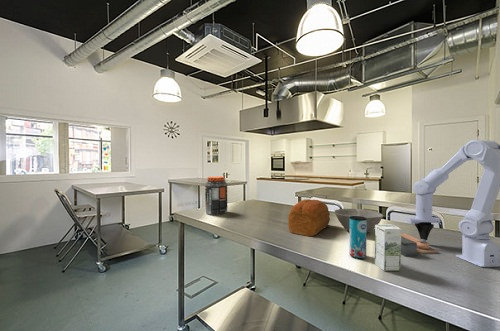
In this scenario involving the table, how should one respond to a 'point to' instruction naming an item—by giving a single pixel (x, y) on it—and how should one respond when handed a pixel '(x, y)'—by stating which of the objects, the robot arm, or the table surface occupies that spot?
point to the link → (417, 241)
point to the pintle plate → (426, 251)
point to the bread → (308, 217)
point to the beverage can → (358, 237)
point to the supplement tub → (216, 196)
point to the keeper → (408, 247)
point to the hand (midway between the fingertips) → (423, 239)
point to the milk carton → (388, 247)
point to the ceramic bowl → (345, 214)
